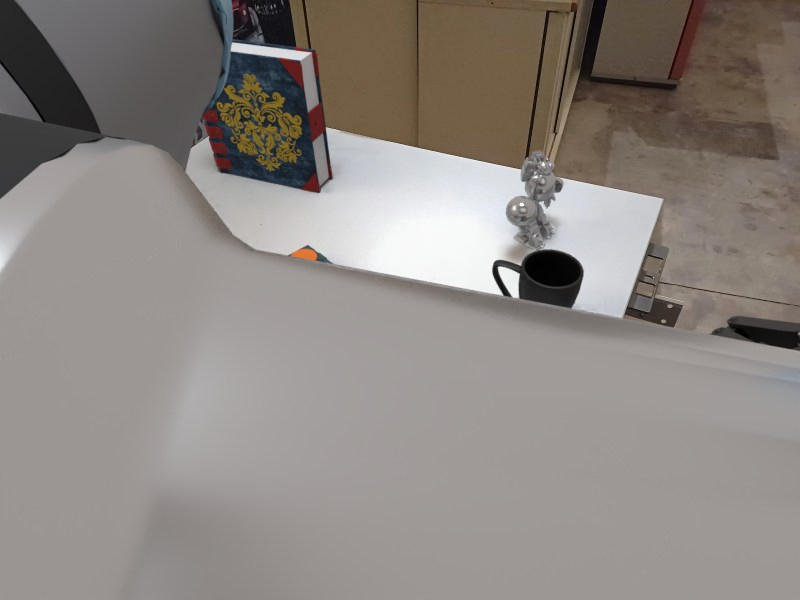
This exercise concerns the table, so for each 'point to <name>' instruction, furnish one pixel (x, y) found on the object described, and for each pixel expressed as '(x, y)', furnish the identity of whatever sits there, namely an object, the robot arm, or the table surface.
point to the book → (271, 117)
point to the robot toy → (534, 200)
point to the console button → (305, 254)
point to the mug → (545, 277)
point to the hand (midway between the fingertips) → (615, 394)
